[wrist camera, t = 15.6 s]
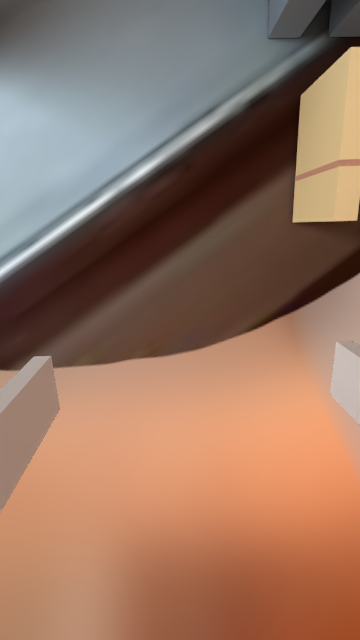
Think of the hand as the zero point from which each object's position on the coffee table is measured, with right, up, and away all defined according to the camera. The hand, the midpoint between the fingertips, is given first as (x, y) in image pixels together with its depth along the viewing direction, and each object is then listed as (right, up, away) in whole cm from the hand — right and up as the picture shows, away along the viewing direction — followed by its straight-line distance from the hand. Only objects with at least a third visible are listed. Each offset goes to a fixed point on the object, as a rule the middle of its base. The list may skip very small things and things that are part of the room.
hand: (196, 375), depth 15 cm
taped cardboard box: (+16, +23, +26) cm, 39 cm away
